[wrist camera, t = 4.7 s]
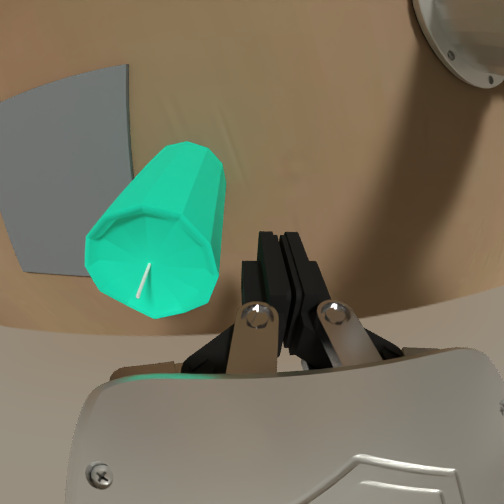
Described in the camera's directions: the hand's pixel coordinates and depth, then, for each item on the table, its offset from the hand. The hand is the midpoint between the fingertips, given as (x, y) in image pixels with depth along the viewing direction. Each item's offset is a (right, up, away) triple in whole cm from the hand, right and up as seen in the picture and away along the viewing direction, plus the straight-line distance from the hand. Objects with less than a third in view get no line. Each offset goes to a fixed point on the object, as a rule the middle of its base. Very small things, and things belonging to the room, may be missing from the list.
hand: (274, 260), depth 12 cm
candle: (-6, +6, +7) cm, 11 cm away
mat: (-18, +6, +6) cm, 20 cm away
